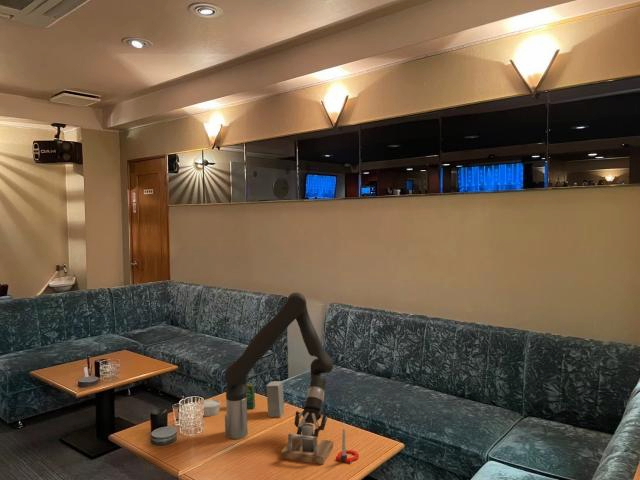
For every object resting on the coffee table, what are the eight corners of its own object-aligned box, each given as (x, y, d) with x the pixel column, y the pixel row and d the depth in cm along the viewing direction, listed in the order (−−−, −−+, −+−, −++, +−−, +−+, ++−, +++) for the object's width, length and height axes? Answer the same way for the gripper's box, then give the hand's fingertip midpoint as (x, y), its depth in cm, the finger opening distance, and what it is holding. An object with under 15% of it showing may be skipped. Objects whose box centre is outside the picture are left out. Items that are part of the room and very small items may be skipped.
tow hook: (343, 451, 194) (333, 460, 185) (343, 420, 194) (333, 428, 186) (362, 455, 189) (352, 465, 181) (362, 424, 190) (352, 432, 182)
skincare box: (280, 417, 228) (279, 386, 227) (266, 417, 229) (265, 385, 229) (284, 411, 236) (284, 380, 236) (271, 410, 238) (270, 380, 237)
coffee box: (239, 407, 242) (238, 383, 241) (241, 405, 245) (240, 381, 244) (252, 409, 239) (252, 384, 239) (255, 407, 242) (254, 382, 242)
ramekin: (225, 411, 238) (224, 401, 238) (209, 419, 229) (209, 408, 228) (209, 407, 244) (209, 397, 244) (193, 414, 235) (193, 404, 234)
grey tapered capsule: (300, 454, 191) (300, 428, 190) (304, 448, 195) (304, 423, 195) (311, 455, 189) (311, 429, 189) (315, 450, 194) (314, 424, 194)
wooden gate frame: (281, 458, 188) (280, 434, 187) (293, 442, 201) (293, 420, 201) (323, 464, 182) (323, 439, 182) (333, 447, 196) (332, 424, 195)
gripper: (297, 394, 201) (287, 432, 190) (328, 397, 196) (321, 436, 185) (301, 402, 206) (292, 439, 195) (332, 405, 202) (325, 443, 191)
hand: (306, 438), depth 190 cm, fingers open, 6 cm apart
